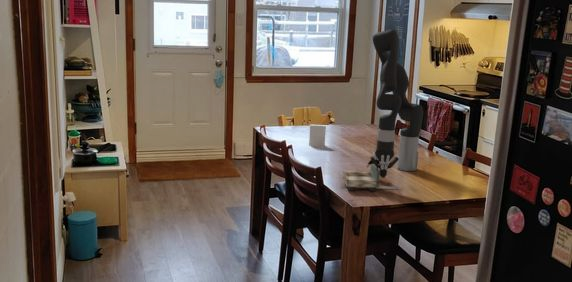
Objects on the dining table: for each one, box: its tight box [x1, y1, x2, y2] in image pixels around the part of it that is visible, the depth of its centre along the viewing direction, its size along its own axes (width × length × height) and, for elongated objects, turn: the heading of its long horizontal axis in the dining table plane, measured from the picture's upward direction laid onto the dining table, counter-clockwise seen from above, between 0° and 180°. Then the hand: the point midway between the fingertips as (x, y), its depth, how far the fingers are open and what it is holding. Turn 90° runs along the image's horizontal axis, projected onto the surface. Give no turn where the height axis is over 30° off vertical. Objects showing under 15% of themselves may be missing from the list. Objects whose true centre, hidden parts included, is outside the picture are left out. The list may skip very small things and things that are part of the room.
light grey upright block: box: [308, 123, 327, 149], centre depth 335 cm, size 9×9×12 cm
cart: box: [342, 164, 381, 193], centre depth 261 cm, size 14×13×9 cm
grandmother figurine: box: [366, 151, 380, 172], centre depth 276 cm, size 8×4×13 cm, turn 105°
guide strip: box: [339, 184, 400, 190], centre depth 262 cm, size 26×3×1 cm, turn 93°
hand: (382, 177), depth 261 cm, fingers closed
